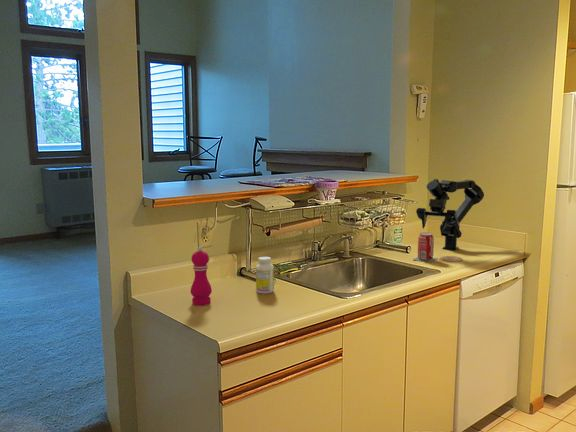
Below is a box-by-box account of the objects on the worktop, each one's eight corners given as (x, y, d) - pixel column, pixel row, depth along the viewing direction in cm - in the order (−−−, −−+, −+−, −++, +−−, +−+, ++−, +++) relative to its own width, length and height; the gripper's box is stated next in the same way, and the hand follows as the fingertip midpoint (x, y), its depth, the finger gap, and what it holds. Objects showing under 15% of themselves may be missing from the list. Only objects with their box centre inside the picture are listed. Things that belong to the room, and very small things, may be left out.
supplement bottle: (265, 287, 209) (265, 255, 207) (277, 291, 204) (277, 257, 202) (252, 291, 204) (252, 257, 202) (264, 295, 200) (264, 260, 198)
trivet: (443, 255, 261) (443, 255, 261) (465, 258, 256) (465, 257, 256) (437, 260, 253) (437, 259, 253) (459, 262, 247) (459, 261, 247)
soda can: (431, 257, 257) (432, 232, 255) (434, 261, 250) (435, 235, 248) (416, 257, 257) (417, 232, 255) (418, 260, 250) (419, 234, 249)
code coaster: (419, 256, 260) (419, 256, 260) (437, 258, 255) (437, 258, 255) (412, 260, 252) (412, 259, 252) (431, 262, 247) (431, 262, 247)
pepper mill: (193, 299, 195) (191, 244, 191) (213, 299, 194) (212, 244, 191) (189, 306, 187) (187, 249, 184) (210, 306, 187) (208, 249, 184)
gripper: (417, 191, 265) (409, 217, 258) (456, 193, 255) (449, 220, 248) (422, 204, 273) (415, 230, 266) (460, 207, 263) (453, 234, 256)
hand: (432, 228), depth 258 cm, fingers open, 9 cm apart
